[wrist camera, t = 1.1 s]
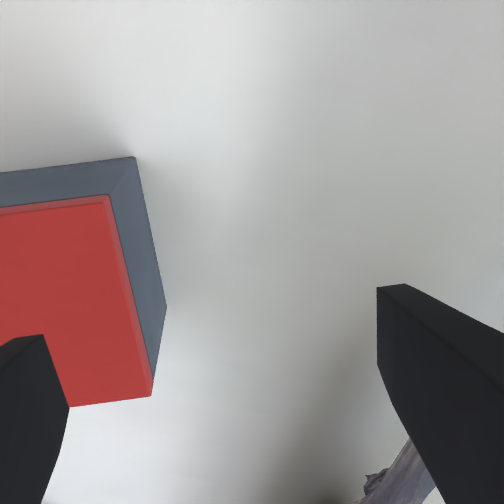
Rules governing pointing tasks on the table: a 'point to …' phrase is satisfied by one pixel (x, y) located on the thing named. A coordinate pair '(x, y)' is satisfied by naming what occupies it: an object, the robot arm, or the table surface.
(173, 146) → the table surface
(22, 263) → the two-tone lidded box
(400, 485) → the decorative bird
